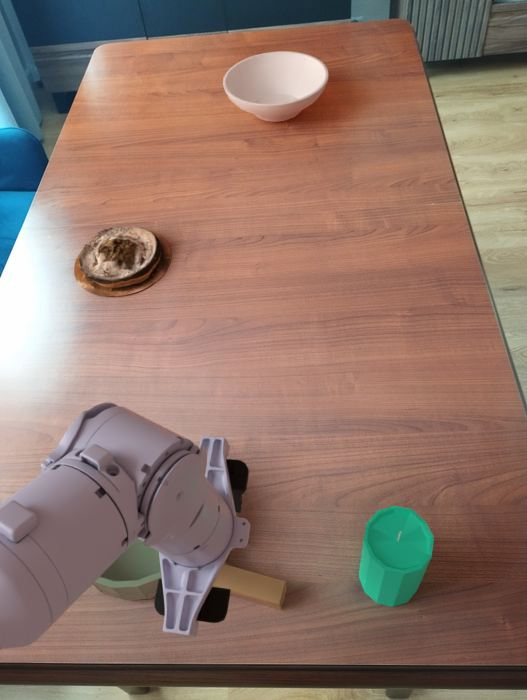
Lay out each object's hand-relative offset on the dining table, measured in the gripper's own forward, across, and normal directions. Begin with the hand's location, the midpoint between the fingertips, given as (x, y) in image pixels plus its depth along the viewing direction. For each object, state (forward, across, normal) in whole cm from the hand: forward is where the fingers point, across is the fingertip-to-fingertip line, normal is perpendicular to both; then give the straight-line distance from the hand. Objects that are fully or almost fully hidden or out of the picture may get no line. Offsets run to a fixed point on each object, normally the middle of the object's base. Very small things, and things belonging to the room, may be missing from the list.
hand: (223, 551), depth 52 cm
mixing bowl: (+10, +3, +12) cm, 15 cm away
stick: (+10, -2, 0) cm, 10 cm away
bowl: (+22, +86, +9) cm, 89 cm away
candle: (+11, +1, -14) cm, 18 cm away
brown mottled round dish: (+15, +43, +27) cm, 53 cm away
